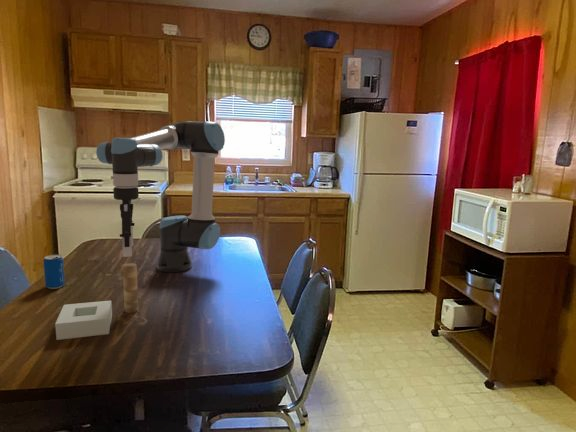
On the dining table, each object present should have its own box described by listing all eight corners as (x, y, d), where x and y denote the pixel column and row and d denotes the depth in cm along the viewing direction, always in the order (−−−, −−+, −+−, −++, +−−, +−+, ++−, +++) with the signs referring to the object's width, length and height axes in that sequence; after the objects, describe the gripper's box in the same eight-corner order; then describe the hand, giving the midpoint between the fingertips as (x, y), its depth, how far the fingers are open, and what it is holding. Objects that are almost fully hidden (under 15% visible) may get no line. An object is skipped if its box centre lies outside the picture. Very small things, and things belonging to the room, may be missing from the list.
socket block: (112, 314, 138) (111, 300, 137) (108, 333, 125) (108, 318, 124) (65, 319, 134) (63, 304, 133) (56, 339, 121) (55, 323, 120)
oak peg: (138, 306, 145) (136, 262, 141) (138, 312, 141) (136, 266, 137) (124, 308, 143) (122, 263, 140) (124, 313, 139) (122, 267, 136)
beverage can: (56, 290, 157) (54, 260, 154) (41, 288, 158) (39, 258, 155) (68, 284, 163) (66, 255, 160) (54, 282, 164) (51, 253, 162)
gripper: (115, 182, 144) (118, 241, 148) (110, 192, 121) (113, 262, 125) (138, 182, 146) (140, 240, 150) (137, 191, 123) (140, 260, 127)
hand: (128, 250), depth 137 cm, fingers open, 13 cm apart
